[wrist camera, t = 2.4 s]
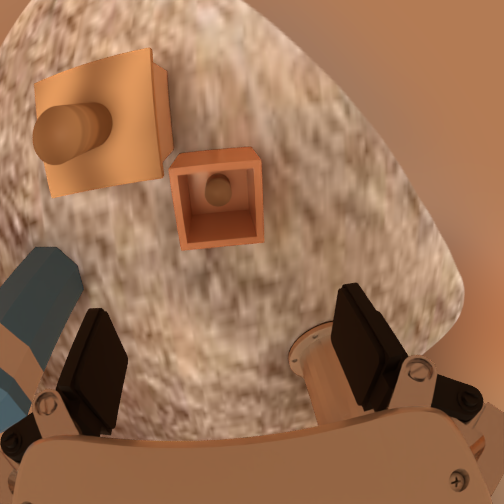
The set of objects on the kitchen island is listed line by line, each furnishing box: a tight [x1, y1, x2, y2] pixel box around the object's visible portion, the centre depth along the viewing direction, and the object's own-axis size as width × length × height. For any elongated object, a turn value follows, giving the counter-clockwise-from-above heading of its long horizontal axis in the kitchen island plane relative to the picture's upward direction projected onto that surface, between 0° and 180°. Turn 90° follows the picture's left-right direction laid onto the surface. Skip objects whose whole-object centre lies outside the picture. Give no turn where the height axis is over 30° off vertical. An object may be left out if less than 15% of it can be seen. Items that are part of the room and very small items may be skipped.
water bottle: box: [0, 247, 84, 433], centre depth 21 cm, size 9×9×25 cm
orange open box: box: [169, 147, 264, 251], centre depth 26 cm, size 7×7×7 cm
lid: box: [33, 48, 164, 198], centre depth 14 cm, size 9×9×6 cm
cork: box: [205, 173, 232, 207], centre depth 27 cm, size 2×2×3 cm
